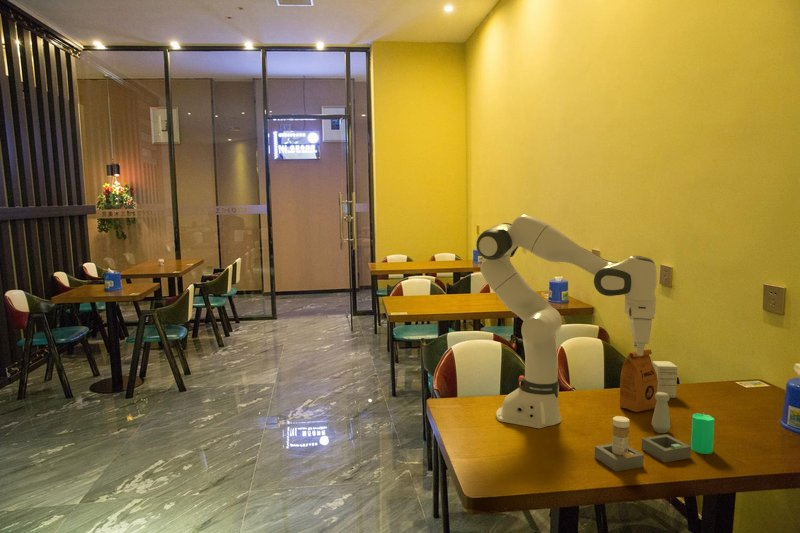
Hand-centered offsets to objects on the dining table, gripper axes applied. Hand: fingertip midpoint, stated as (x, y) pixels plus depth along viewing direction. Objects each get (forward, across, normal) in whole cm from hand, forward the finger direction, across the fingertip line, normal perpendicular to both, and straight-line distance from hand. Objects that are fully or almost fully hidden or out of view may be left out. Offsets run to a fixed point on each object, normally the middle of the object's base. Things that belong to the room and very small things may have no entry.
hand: (638, 351), depth 178 cm
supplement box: (+29, -49, +15) cm, 59 cm away
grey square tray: (+29, +8, +8) cm, 31 cm away
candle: (+29, +2, +19) cm, 35 cm away
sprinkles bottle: (+29, +18, -6) cm, 35 cm away
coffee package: (+29, -30, +4) cm, 42 cm away
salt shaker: (+29, -10, +9) cm, 32 cm away
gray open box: (+29, +18, -6) cm, 35 cm away
